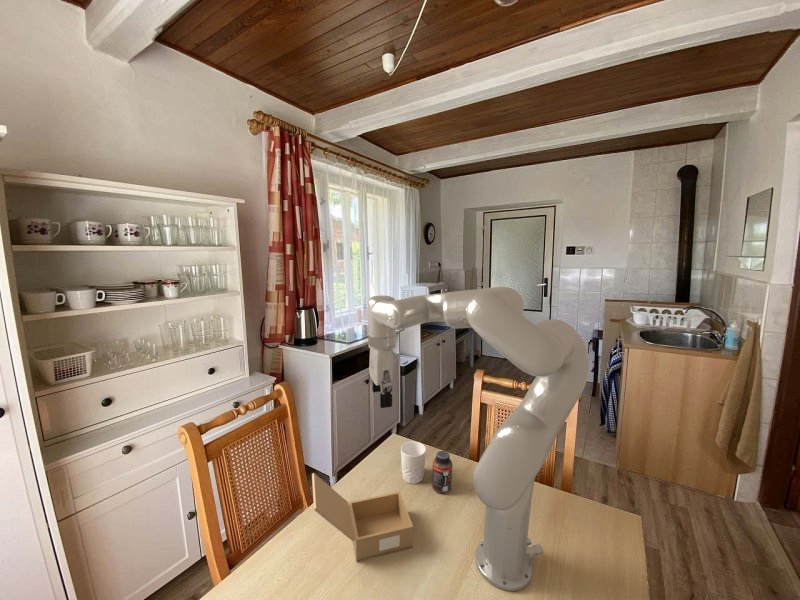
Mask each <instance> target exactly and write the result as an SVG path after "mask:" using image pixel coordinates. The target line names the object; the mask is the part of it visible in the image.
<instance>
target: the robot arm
mask: <svg viewBox="0 0 800 600" xmlns="http://www.w3.org/2000/svg"><path fill="white" fill-rule="evenodd" d="M524 308H525V305H524V300H523V297H522V295H521V294H520V293H519V292H518V291H517V290H516V289H514V288H511V287H506V286H495V287H485V288H477V289H476V288H475V289H474V288H473V289H465V290H456V291H448V292H442V293H433V294H422V295H421V294H420V295H414V296H410V297H406V298H402V299H395V297H393V296H391V295H373V296H371V297H369V299H368V302H367V318H368V319H367V335H368V336H367V340H368V342H367V345H368V346H367V347H368V348H369V360H368V361H369V362H368V363H369V366H368V368H369V369H368V373H369V375H370V378H371V380H372V383H371V384H372V385H371V387H372V390H371V391H372V393H379V392H380V394H379V407H380V408H381V409H385V408H391V407H392V406H393V382H394V351H393V349H395V348H396V338H397V337H396V334H397V332H396V331H402V330H406V329H408V328H411V327H414V326H416V325H421V324H424V323H434V322H435V323H436V322H438V323H439V322H441V323H443V322H444V323H446V324H447V326H448V327H450V328H452V329H469V328H472V329H473V330H474V332H476V333H477V334H478V335H479V336H480V337H481V339H483V340H484V341H485V342H486V343H488V345H490V346H491V347H492V348H493V349H495V350H496V351H497V352H498V353H499V354H500V355H502V356H503V357H504V358H505V359H507V361H509V363H511V364H513V365H514V366H515V367H516V368H518V370H520V371H522V372H523V373H525V374H528V375H530V376H533V377H535V378H534V380H533V381H532V383H530V386H529V389H528V391H527V392H526V393H525V395H524V397H523V399H522V400H521V402H520V403H519V405H517V407H516V408H515V409H514V410H513V411H512V412H511V413H509V415H508V416H507V418H506V419H504V421H503V423H502V424H501V425H500V426H499V427H498V428H497V430H496V432H495V433H494V435H493V436H492V438H491V440H490V442H489V443H488V445H487V447H486V449H485V451H484V452H483V454H482V455H481V457H480V459H479V461H478V463H477V464H476V466H475V468H474V471H473V473H472V474H473V475H472V486H473V489H474V492H475V494H476V496H477V498H478V499H479V500H480V502H482V503H483V505H484V506H485V514H484V528H483V540H482V541H481V542H480V543H479V544H478V546H477V547H476V551H475V563H476V566H477V569H478V571H479V573H480V574H481V575H482V577H483V578H484V579H485V580H486V581H487V582H488V583H490V584H491V585H492V586H495V587H496V588H499V589H500V590H503V591H513V592H515V591H520V590H522V589H525V587H527V586H528V585H529V584H530V582H531V578H532V575H533V566H532V561H531V560H532V559H533V557H535V556H536V557H537V556H540V555H543V554H544V549H543V548H544V547H543V546H542V545H541V544H540V543H539V544H534V545H532V544H533V543H532V539H531V538H530V537H529V528H530V527H529V526H530V515H531V506H532V499H533V491H534V486H535V480H536V476H537V475H538V474H539V472H540V470H541V469H542V467H543V466H544V464H545V462H546V461H547V458H548V456H549V454H550V452H551V451H552V448H553V446H554V444H555V442H556V439H557V436H558V434H559V432H560V431H561V429H562V427H563V425H564V424H565V422H566V421H567V419H568V418H569V416H570V414H571V413H572V411H573V409H574V407H575V406H576V404H577V403H578V401H579V399H580V398H581V395H582V394H583V392H584V389H585V386H586V385H587V381H588V377H589V372H590V371H589V370H590V369H589V368H590V360H589V353H588V349H587V345H586V344H585V342H584V340H583V338H582V336H581V335H580V333H579V332H578V330H576V329H575V328H574V327H573V326H572V325H571V324H569V323H568V322H566V321H563V320H561V319H555V318H554V319H547V320H543V321H540V322H537V324H535V323H534V322H532V321H531V320H529V319H528V318H526V317H525V316H524V315H523V313H524ZM384 386H385V387H384ZM531 545H532V546H531Z"/></svg>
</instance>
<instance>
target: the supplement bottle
mask: <svg viewBox="0 0 800 600" xmlns="http://www.w3.org/2000/svg"><path fill="white" fill-rule="evenodd" d="M450 457H451V456H450V453H449V452H447V451H445V450H438V451H437V452H436V456H435V458H433V460H432V471H431V472H432V474H431V476H432V477H431V487H432V489H433V491H434V492H436V493H437V494H441V495H442V494H443V495H444V494H447V493H449V492H451V490H452V484H453V483H452V480H453V479H452V478H453V461H452V459H450Z"/></svg>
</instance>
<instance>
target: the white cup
mask: <svg viewBox="0 0 800 600" xmlns="http://www.w3.org/2000/svg"><path fill="white" fill-rule="evenodd" d="M426 452H427V448H426V446H425V445H424V444H423V443H422V442H420V441H419V442H418V441H416V440H415V441H414V440H413V441H406V442H403V444H402V445H401V446H400V463H401V477H402V479H403V481H404V482H405V483H407V484H412V485H416V484H419V483H421V482H422V481H423V479H424V473H425V464H426V455H427V453H426Z"/></svg>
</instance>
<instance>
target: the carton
mask: <svg viewBox="0 0 800 600" xmlns="http://www.w3.org/2000/svg"><path fill="white" fill-rule="evenodd" d="M348 503H349V509H350V514H351V519H352V525H353V530H354V536H355V541H354V542H353V541H352V544H353V550H354V556H355V560H356V563H357V562H361V561H366V560H370V559H372V558H377V557H380V556H384V555H388V554H394V553H396V552H400V551H404V550H407V549H412V548H414V525H413V522H412V520H411V517H410V514H409V513H408V512H409V511H408V510H407V507H406V505H405V502H404V499H403V497H402V495H401V492H400V491H397V492H390V493H386V494H382V495H377V496H372V497H367V498H362V499H357V500H353V501H348Z"/></svg>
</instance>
